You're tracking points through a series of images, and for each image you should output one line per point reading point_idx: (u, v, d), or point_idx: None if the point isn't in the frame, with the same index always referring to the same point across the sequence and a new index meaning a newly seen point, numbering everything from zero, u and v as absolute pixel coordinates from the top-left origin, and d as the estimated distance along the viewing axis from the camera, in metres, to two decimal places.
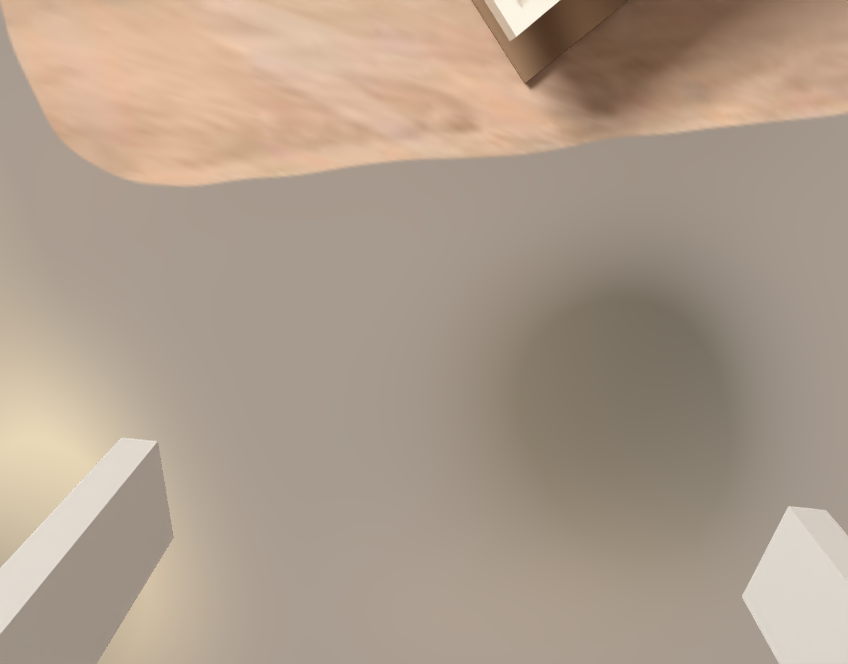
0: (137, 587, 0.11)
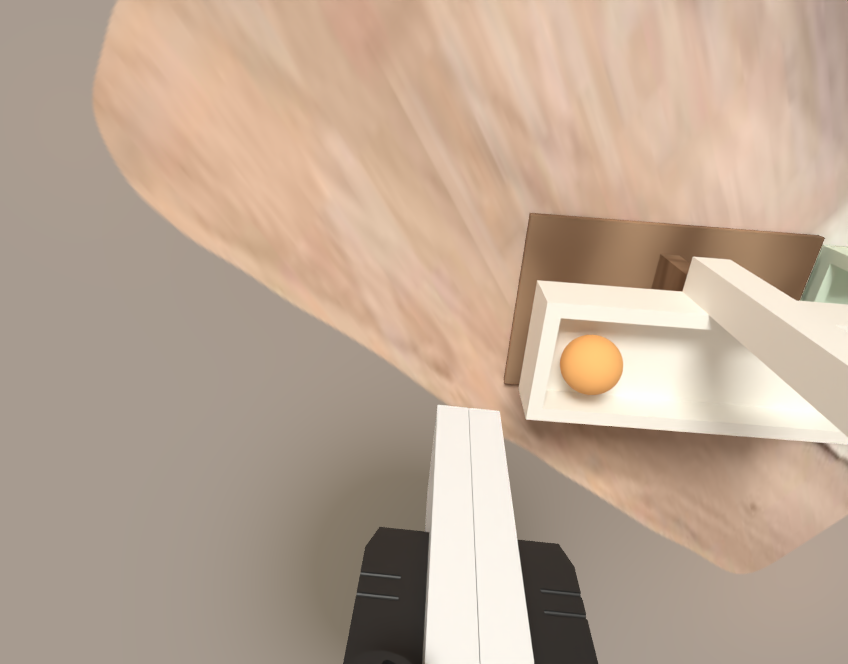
0: None
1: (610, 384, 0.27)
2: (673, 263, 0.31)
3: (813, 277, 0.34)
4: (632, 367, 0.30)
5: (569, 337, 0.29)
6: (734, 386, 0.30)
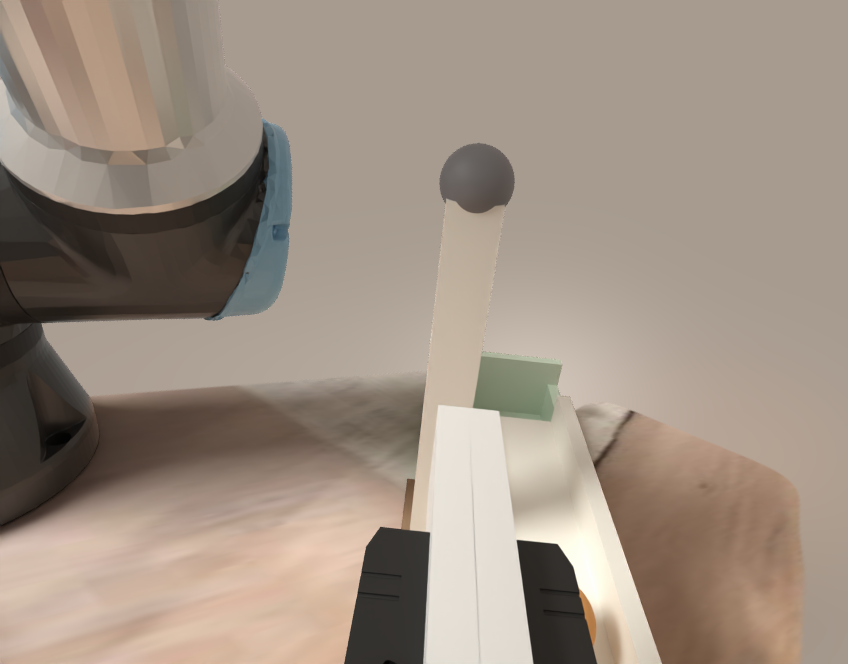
0: None
1: None
2: None
3: None
4: None
5: None
6: (546, 487, 0.28)
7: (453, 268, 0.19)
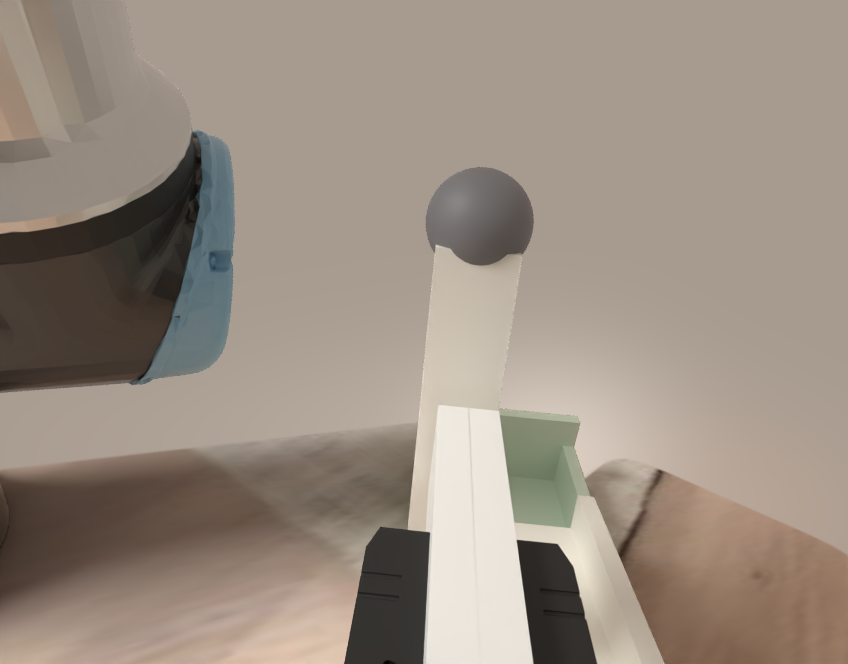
0: None
1: None
2: None
3: None
4: None
5: None
6: None
7: (447, 344, 0.13)
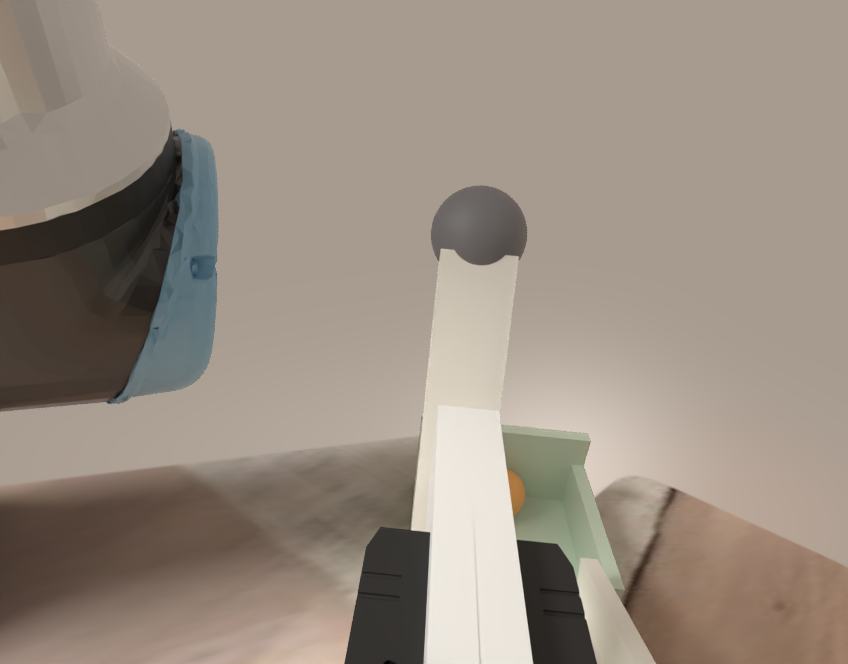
0: None
1: None
2: None
3: None
4: None
5: None
6: None
7: (451, 341, 0.14)
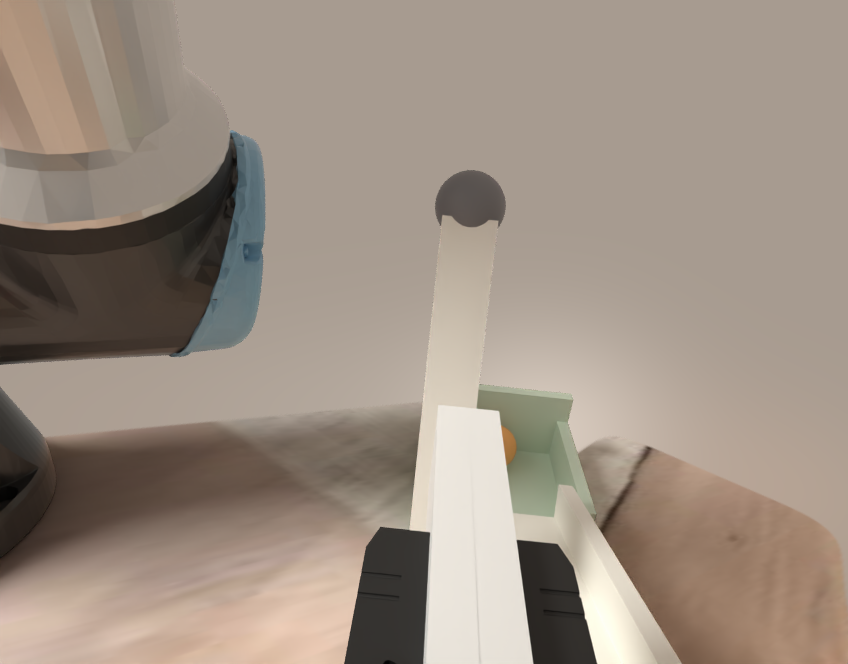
0: None
1: None
2: None
3: None
4: None
5: None
6: None
7: (450, 282, 0.19)
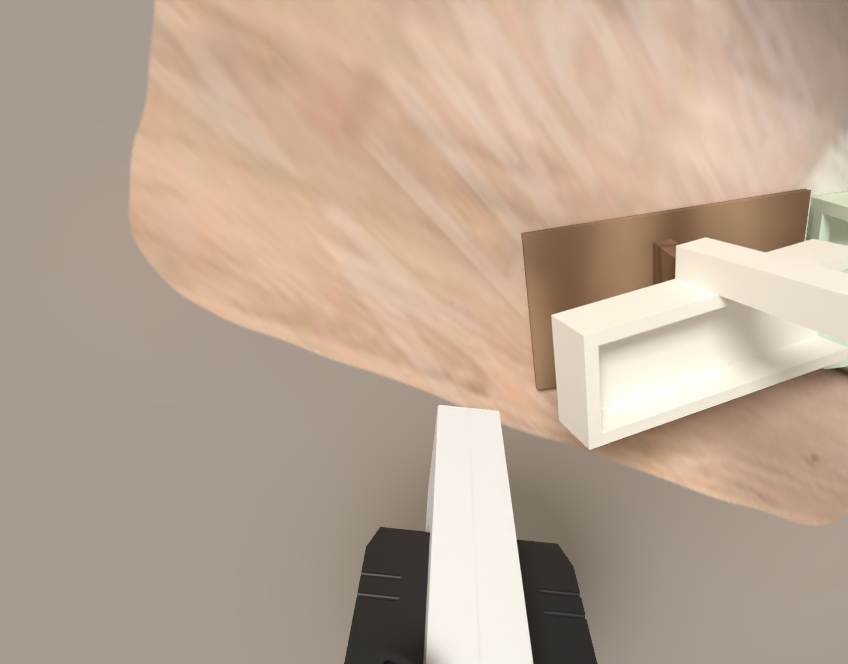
0: None
1: None
2: (665, 249, 0.33)
3: (810, 228, 0.34)
4: (656, 362, 0.31)
5: None
6: (740, 345, 0.32)
7: None
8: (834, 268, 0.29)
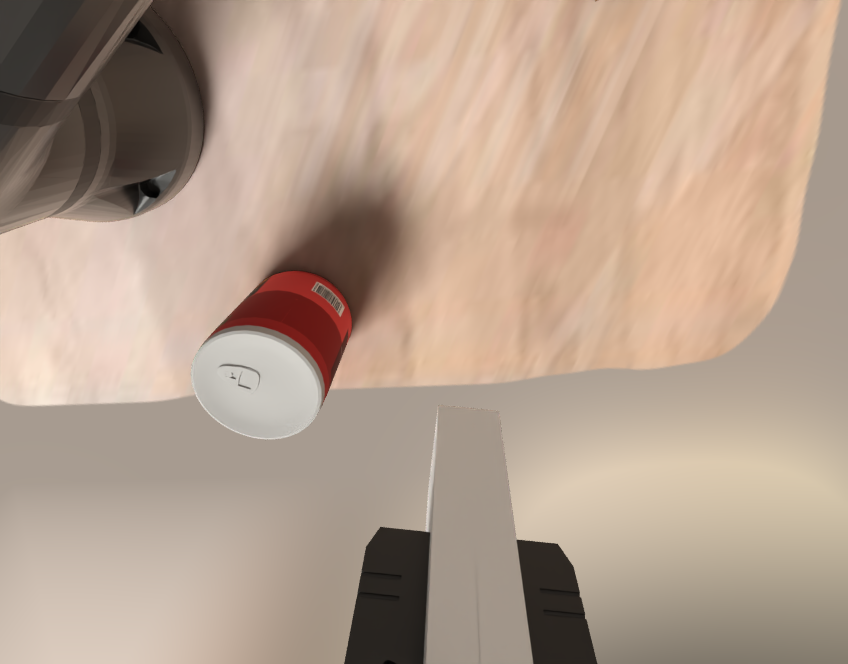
0: None
1: None
2: None
3: None
4: None
5: None
6: None
7: None
8: None
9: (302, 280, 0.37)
